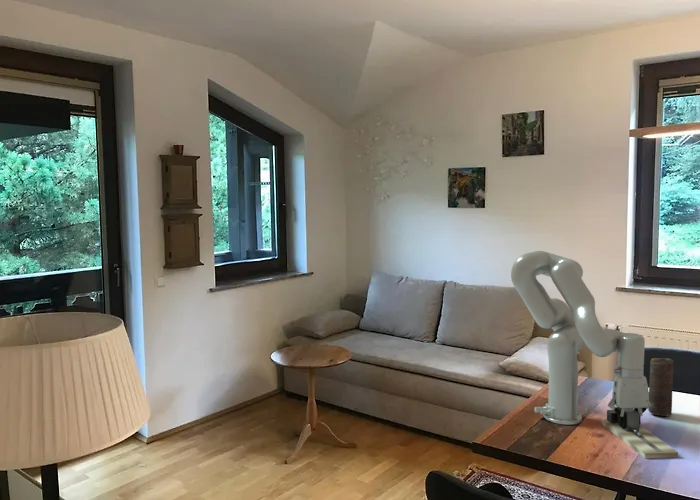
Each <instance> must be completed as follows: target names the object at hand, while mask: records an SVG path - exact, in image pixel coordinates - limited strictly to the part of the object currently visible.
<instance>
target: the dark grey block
mask: <svg viewBox="0 0 700 500" xmlns="http://www.w3.org/2000/svg"><path fill="white" fill-rule="evenodd" d="M624 416H625V417H626V424H625V430H626V431H633V432H634V433H636V434H637V435H639V436H640V437H641V436H642V434H641V433H640V432H638V431H639V418H640V413H639V412H638V411H636V410H635V409H634V408H631V409H625V413H624Z"/></svg>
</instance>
